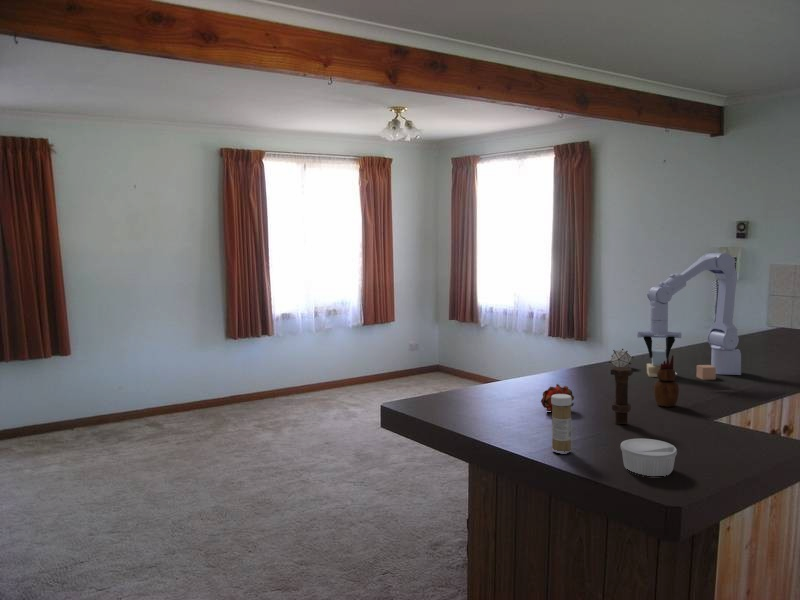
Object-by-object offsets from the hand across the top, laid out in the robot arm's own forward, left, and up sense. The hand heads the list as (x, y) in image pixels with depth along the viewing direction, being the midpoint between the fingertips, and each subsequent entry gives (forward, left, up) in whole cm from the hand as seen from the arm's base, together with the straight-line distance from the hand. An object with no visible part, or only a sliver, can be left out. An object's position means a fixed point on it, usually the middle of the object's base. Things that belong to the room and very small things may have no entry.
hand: (658, 357), depth 224 cm
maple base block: (0, 0, -6) cm, 6 cm away
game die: (+12, -11, -7) cm, 18 cm away
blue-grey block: (0, -1, -3) cm, 3 cm away
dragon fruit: (+34, +55, -7) cm, 65 cm away
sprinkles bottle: (+32, +91, -7) cm, 97 cm away
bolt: (+17, +64, -7) cm, 67 cm away
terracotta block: (-15, +3, -7) cm, 17 cm away
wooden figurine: (+3, +42, -7) cm, 43 cm away
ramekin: (+14, +99, -7) cm, 100 cm away
